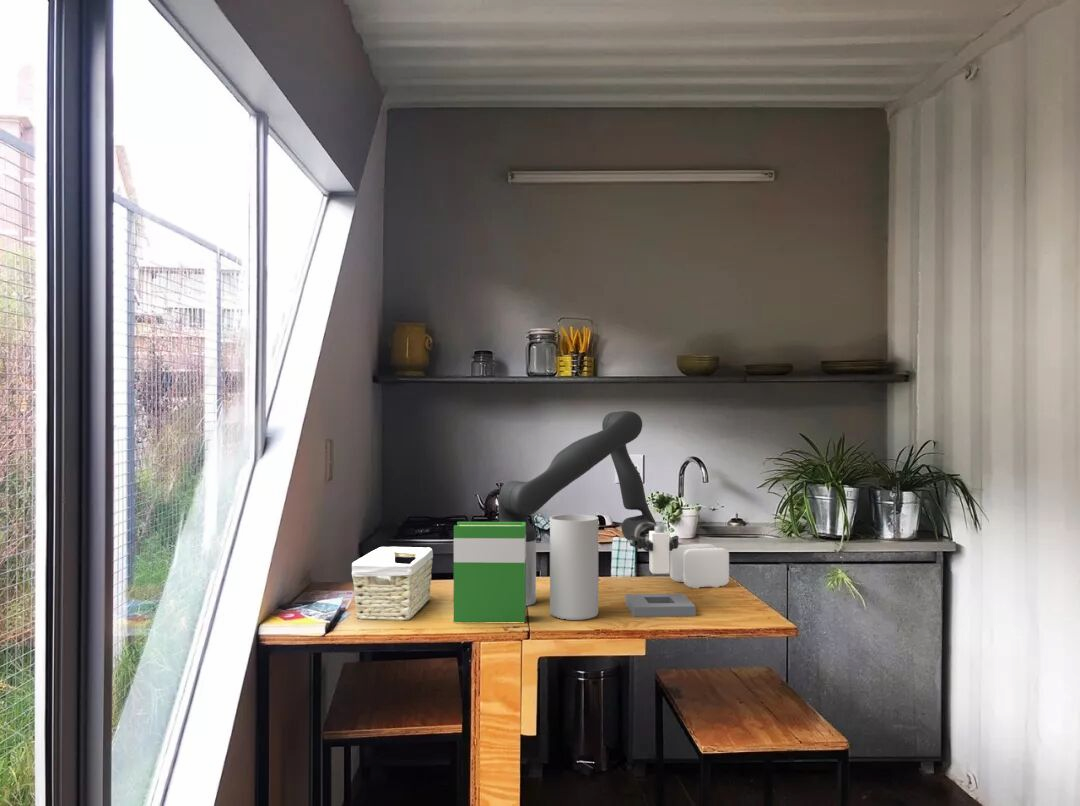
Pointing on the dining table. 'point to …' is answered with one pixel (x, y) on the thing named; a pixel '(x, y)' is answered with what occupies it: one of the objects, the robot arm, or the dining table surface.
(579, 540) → the cylinder vase
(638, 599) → the socket plate
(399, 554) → the storage basket
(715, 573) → the white napkin holder
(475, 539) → the green cereal box
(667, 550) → the white block with knob
